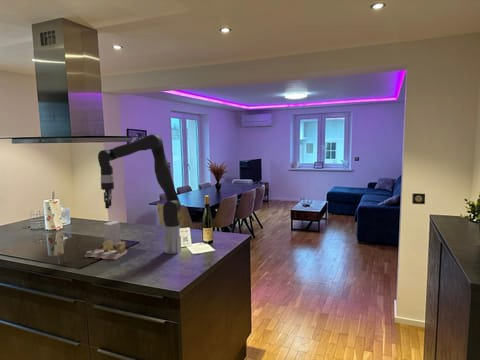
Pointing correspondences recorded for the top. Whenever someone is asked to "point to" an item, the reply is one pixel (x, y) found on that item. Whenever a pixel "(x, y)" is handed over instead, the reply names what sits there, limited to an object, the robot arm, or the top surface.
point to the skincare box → (112, 231)
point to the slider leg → (108, 245)
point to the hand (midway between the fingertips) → (108, 207)
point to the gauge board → (112, 254)
